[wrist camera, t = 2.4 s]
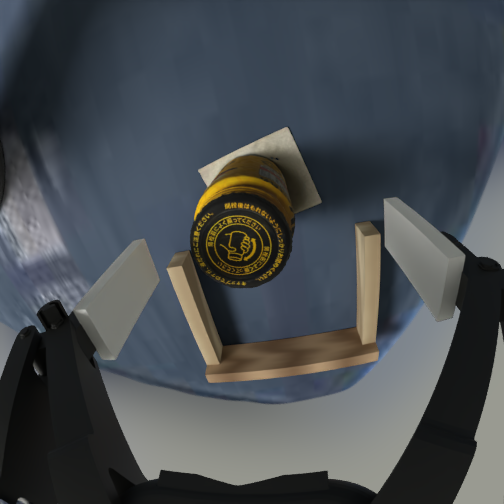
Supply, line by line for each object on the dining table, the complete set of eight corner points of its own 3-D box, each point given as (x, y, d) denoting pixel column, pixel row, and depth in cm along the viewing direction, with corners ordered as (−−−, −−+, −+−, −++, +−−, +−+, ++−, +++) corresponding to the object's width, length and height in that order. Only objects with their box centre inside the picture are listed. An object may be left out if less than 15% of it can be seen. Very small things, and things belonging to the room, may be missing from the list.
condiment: (198, 169, 25) (148, 218, 14) (287, 126, 23) (307, 138, 12) (237, 238, 27) (219, 323, 17) (321, 201, 25) (359, 270, 15)
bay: (214, 355, 35) (209, 382, 31) (175, 252, 28) (161, 277, 24) (367, 333, 32) (377, 360, 28) (369, 221, 26) (386, 241, 22)
